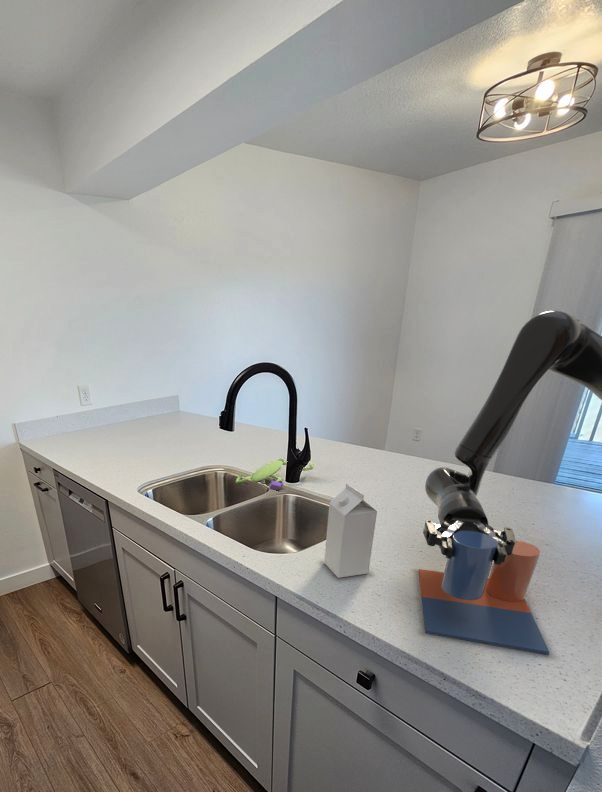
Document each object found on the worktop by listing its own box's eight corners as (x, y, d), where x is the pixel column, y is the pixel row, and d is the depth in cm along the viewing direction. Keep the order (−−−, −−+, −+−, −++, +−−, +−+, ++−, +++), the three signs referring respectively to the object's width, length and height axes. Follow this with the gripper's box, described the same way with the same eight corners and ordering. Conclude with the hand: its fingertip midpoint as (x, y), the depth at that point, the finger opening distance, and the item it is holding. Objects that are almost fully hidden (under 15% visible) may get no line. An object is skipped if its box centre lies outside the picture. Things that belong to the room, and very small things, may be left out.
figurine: (321, 477, 153) (322, 461, 151) (268, 496, 139) (268, 479, 137) (281, 466, 166) (282, 452, 164) (229, 483, 152) (229, 467, 150)
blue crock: (479, 583, 78) (493, 533, 73) (485, 603, 72) (501, 550, 68) (439, 577, 80) (450, 528, 75) (442, 596, 75) (455, 545, 70)
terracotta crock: (520, 586, 87) (535, 542, 82) (528, 604, 81) (545, 558, 77) (483, 581, 89) (495, 538, 84) (489, 598, 84) (502, 553, 79)
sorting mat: (516, 584, 88) (516, 581, 88) (548, 654, 70) (549, 652, 70) (418, 571, 95) (419, 569, 95) (425, 633, 77) (425, 630, 76)
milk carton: (352, 558, 101) (362, 481, 93) (368, 574, 95) (380, 492, 86) (323, 563, 100) (330, 485, 92) (337, 578, 94) (346, 496, 85)
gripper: (423, 494, 85) (429, 531, 71) (510, 501, 80) (534, 541, 66) (416, 528, 88) (421, 569, 75) (499, 537, 83) (520, 583, 70)
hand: (474, 556), depth 71 cm, fingers closed on blue crock, 6 cm apart
